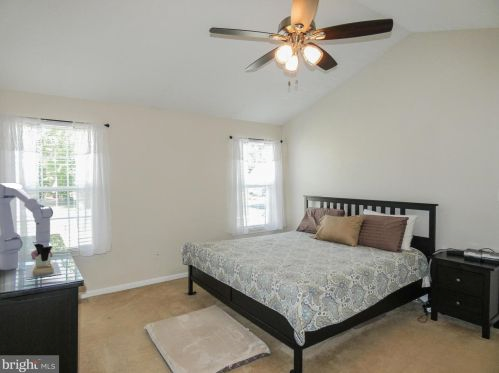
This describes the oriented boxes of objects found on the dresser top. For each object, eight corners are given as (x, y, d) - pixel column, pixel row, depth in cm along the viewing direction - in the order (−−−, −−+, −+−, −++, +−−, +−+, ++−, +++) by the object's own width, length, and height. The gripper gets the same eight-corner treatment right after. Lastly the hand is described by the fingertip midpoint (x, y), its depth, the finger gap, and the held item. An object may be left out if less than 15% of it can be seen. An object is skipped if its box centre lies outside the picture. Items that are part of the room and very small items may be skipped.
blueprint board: (25, 267, 156) (25, 259, 156) (57, 263, 164) (57, 255, 164) (25, 280, 137) (25, 271, 137) (61, 274, 145) (61, 266, 145)
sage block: (40, 263, 148) (40, 254, 148) (50, 263, 149) (50, 253, 148) (36, 267, 144) (35, 257, 143) (46, 266, 145) (45, 257, 144)
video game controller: (51, 259, 179) (49, 248, 180) (53, 257, 176) (51, 245, 178) (31, 262, 171) (29, 251, 173) (33, 260, 168) (31, 248, 170)
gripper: (30, 230, 148) (30, 257, 149) (36, 234, 138) (35, 263, 138) (47, 229, 153) (47, 255, 154) (53, 233, 143) (53, 261, 143)
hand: (43, 259), depth 146 cm, fingers open, 7 cm apart
